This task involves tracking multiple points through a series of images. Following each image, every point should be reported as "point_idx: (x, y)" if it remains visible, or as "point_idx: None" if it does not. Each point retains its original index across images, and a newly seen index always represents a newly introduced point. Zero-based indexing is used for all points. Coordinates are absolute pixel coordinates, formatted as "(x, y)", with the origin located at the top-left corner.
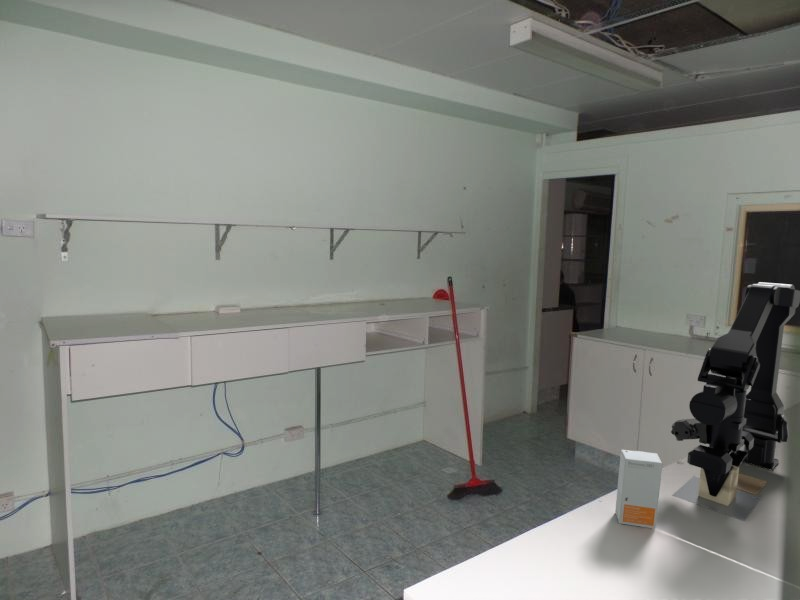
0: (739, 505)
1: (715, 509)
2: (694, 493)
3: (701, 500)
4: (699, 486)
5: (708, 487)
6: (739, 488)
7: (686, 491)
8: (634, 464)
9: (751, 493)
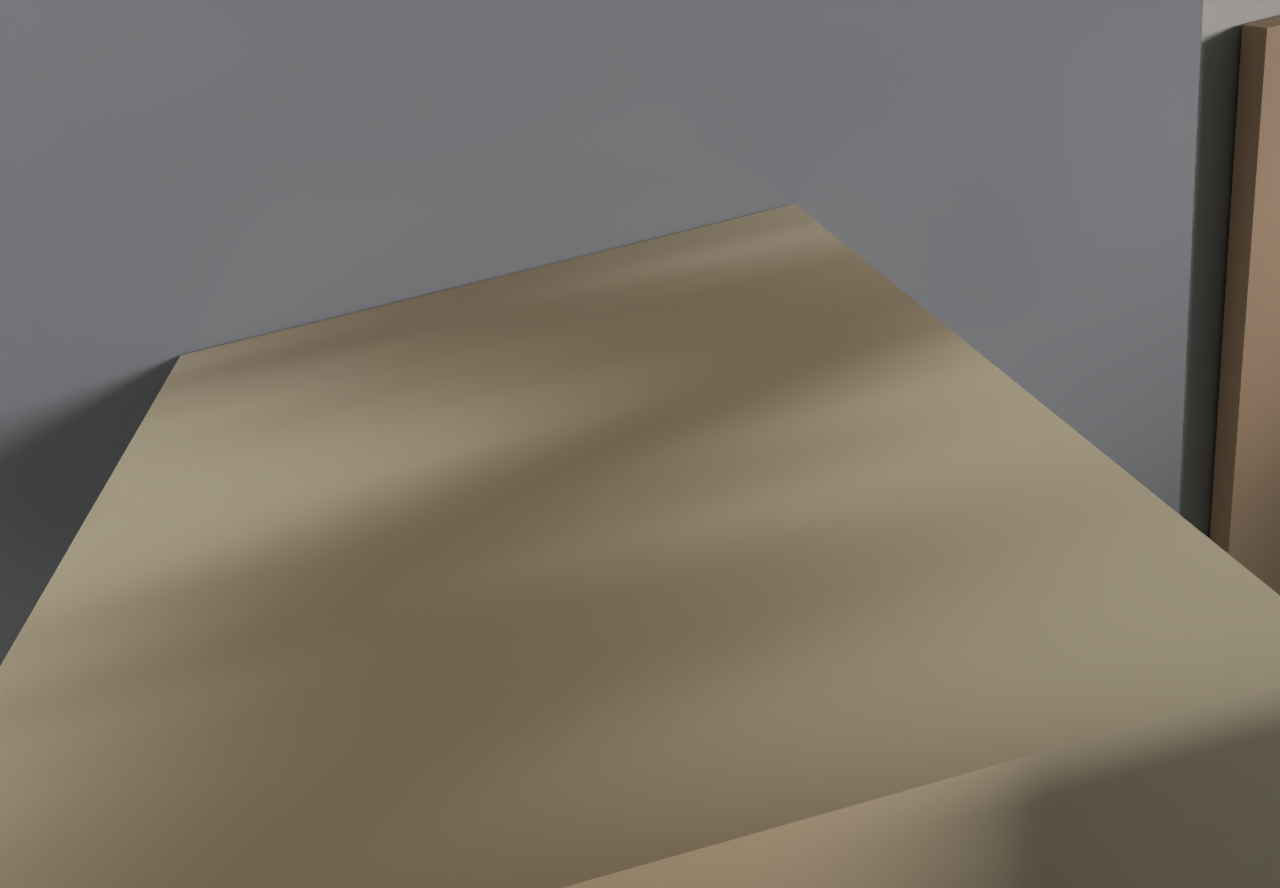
0: None
1: None
2: (202, 242)
3: (58, 509)
4: (121, 475)
5: None
6: (1258, 532)
7: (92, 65)
8: None
9: None
